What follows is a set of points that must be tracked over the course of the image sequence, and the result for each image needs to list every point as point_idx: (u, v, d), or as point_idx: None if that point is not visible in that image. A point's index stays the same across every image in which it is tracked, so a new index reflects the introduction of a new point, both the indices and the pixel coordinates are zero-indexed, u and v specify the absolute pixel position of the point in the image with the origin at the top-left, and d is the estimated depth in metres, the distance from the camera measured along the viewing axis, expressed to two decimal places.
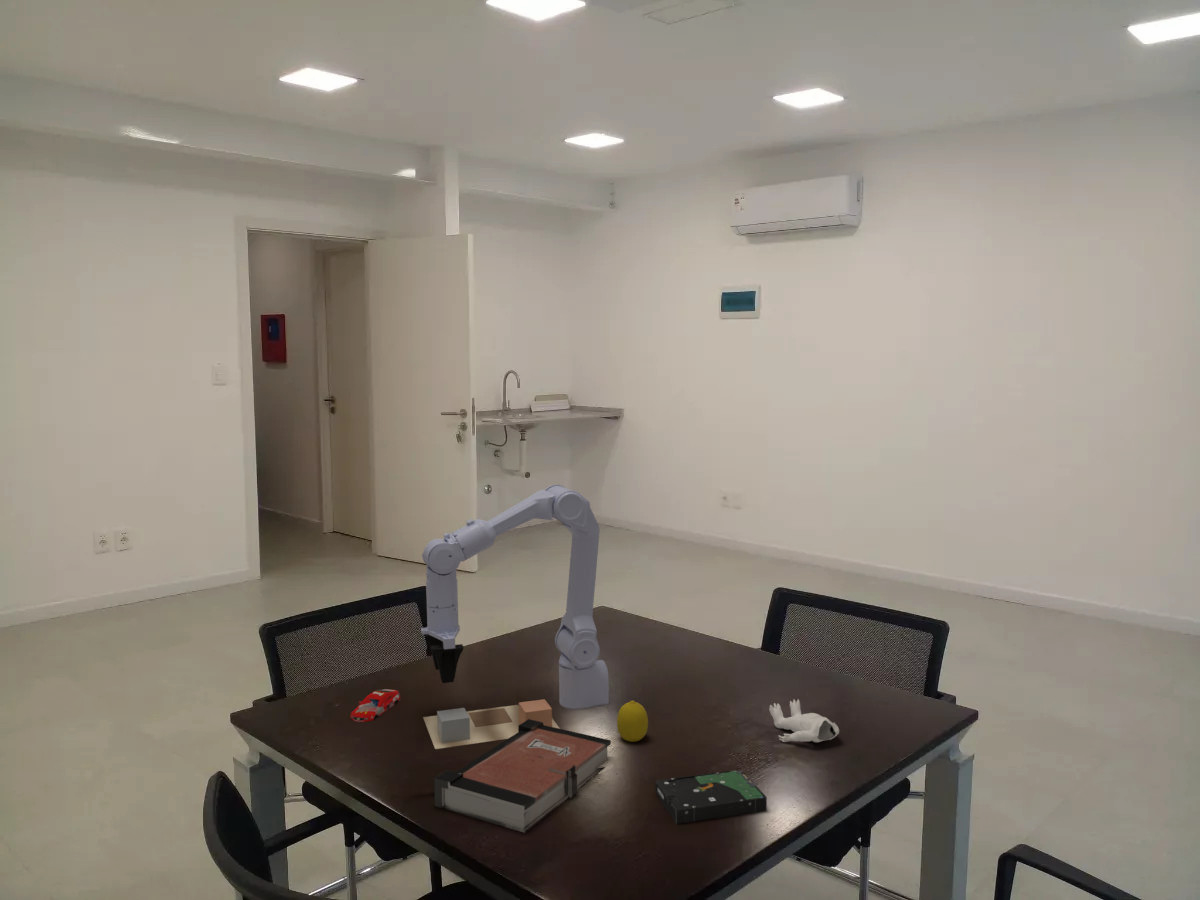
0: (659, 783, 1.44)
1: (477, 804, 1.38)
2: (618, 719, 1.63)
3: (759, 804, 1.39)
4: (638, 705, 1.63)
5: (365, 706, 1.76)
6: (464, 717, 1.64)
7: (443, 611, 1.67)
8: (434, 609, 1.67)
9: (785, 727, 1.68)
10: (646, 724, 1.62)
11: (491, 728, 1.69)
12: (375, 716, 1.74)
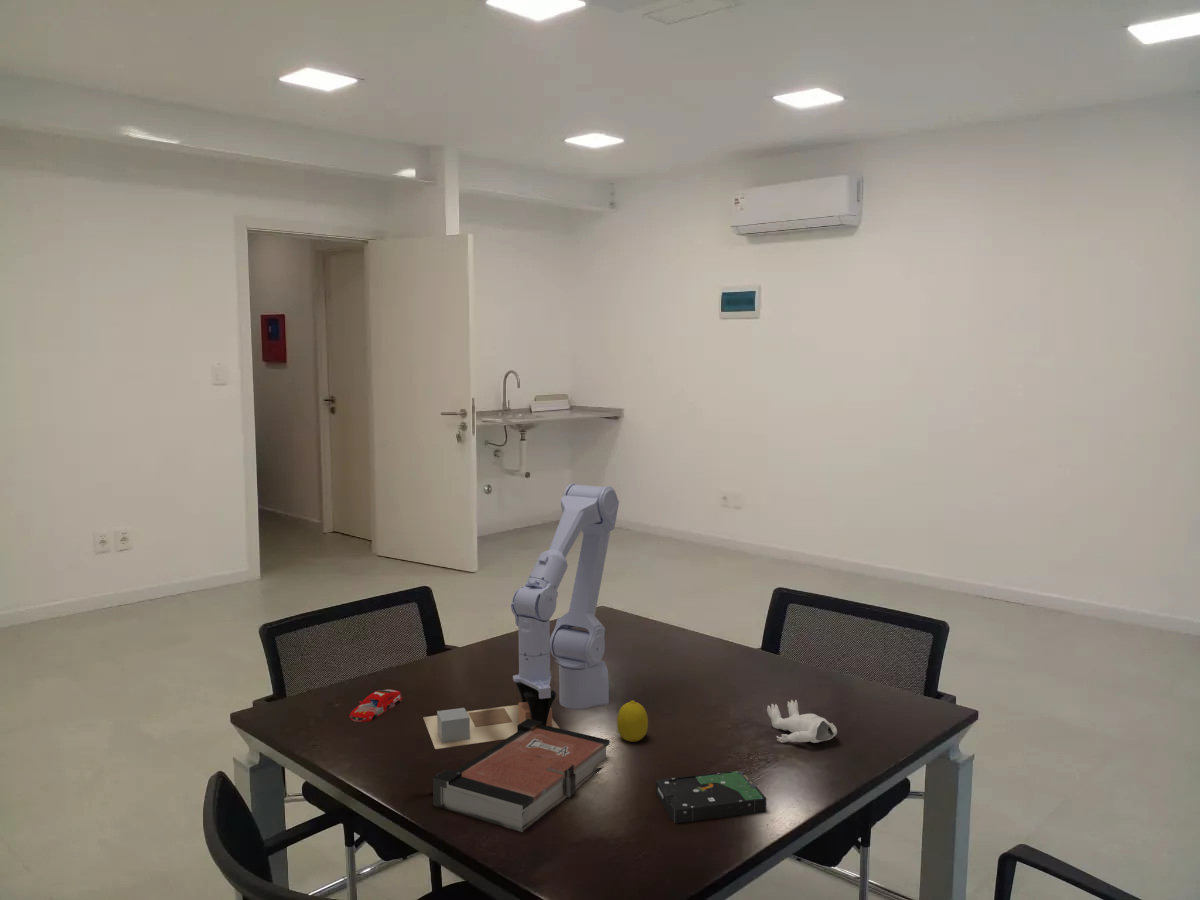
0: (660, 782, 1.45)
1: (475, 803, 1.38)
2: (618, 719, 1.63)
3: (758, 805, 1.39)
4: (638, 705, 1.63)
5: (365, 706, 1.76)
6: (464, 717, 1.64)
7: (537, 659, 1.65)
8: (527, 657, 1.65)
9: (783, 728, 1.68)
10: (646, 724, 1.62)
11: (491, 728, 1.69)
12: (374, 716, 1.74)
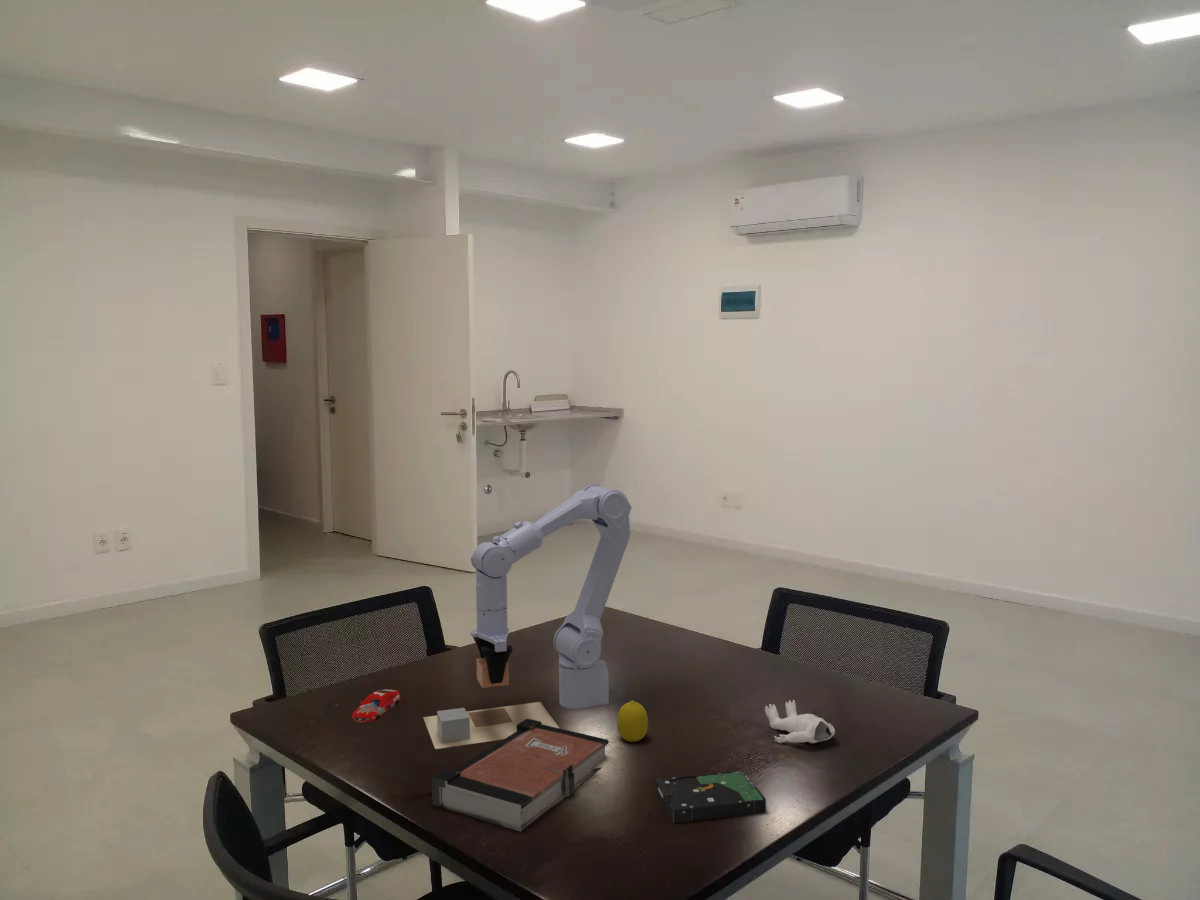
0: (660, 782, 1.45)
1: (474, 803, 1.38)
2: (618, 719, 1.63)
3: (758, 806, 1.39)
4: (638, 705, 1.63)
5: (366, 706, 1.75)
6: (464, 717, 1.64)
7: (493, 614, 1.68)
8: (485, 612, 1.68)
9: (781, 728, 1.68)
10: (646, 724, 1.62)
11: (491, 728, 1.69)
12: (377, 716, 1.74)
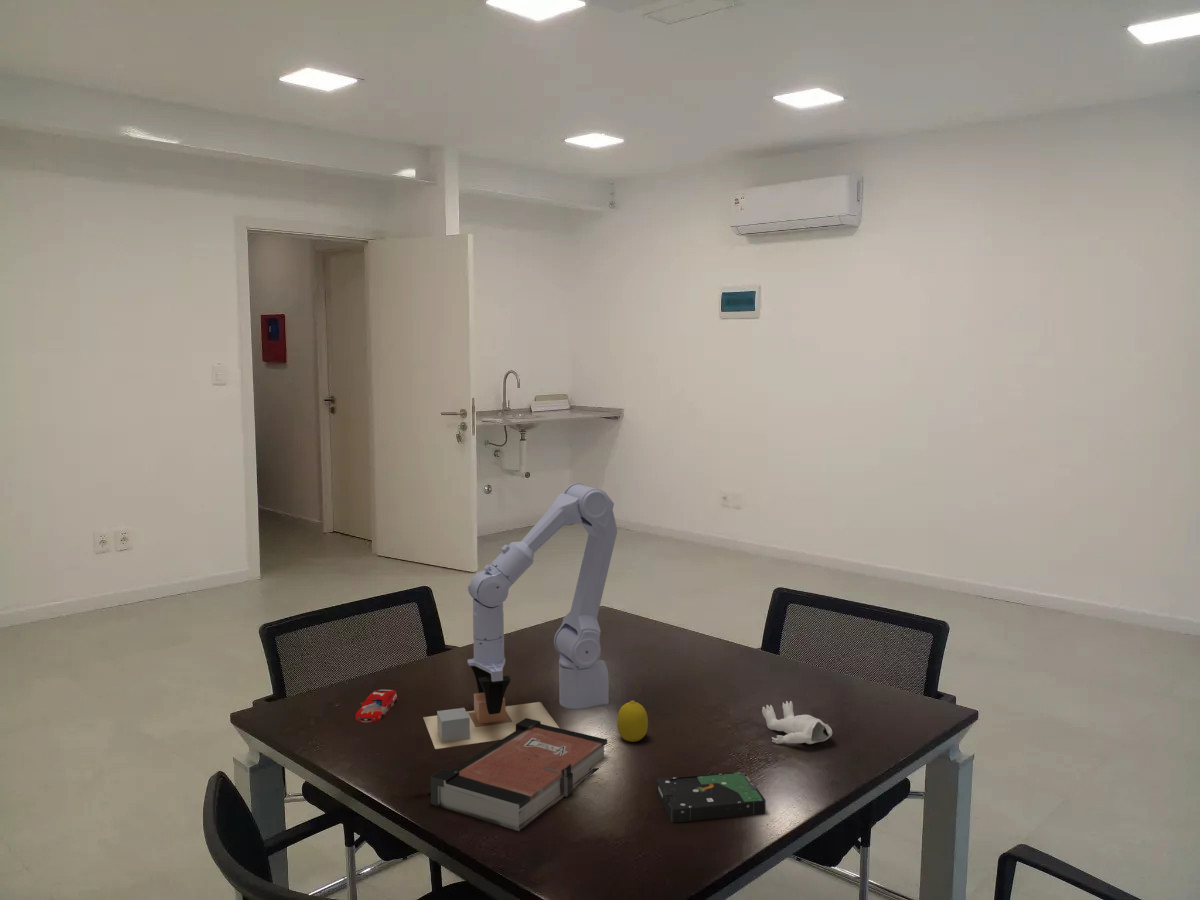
0: (660, 781, 1.45)
1: (472, 802, 1.39)
2: (618, 719, 1.63)
3: (757, 807, 1.38)
4: (638, 705, 1.63)
5: (369, 707, 1.75)
6: (464, 717, 1.64)
7: (490, 643, 1.69)
8: (481, 641, 1.69)
9: (778, 729, 1.68)
10: (646, 724, 1.62)
11: (491, 728, 1.69)
12: (381, 716, 1.74)
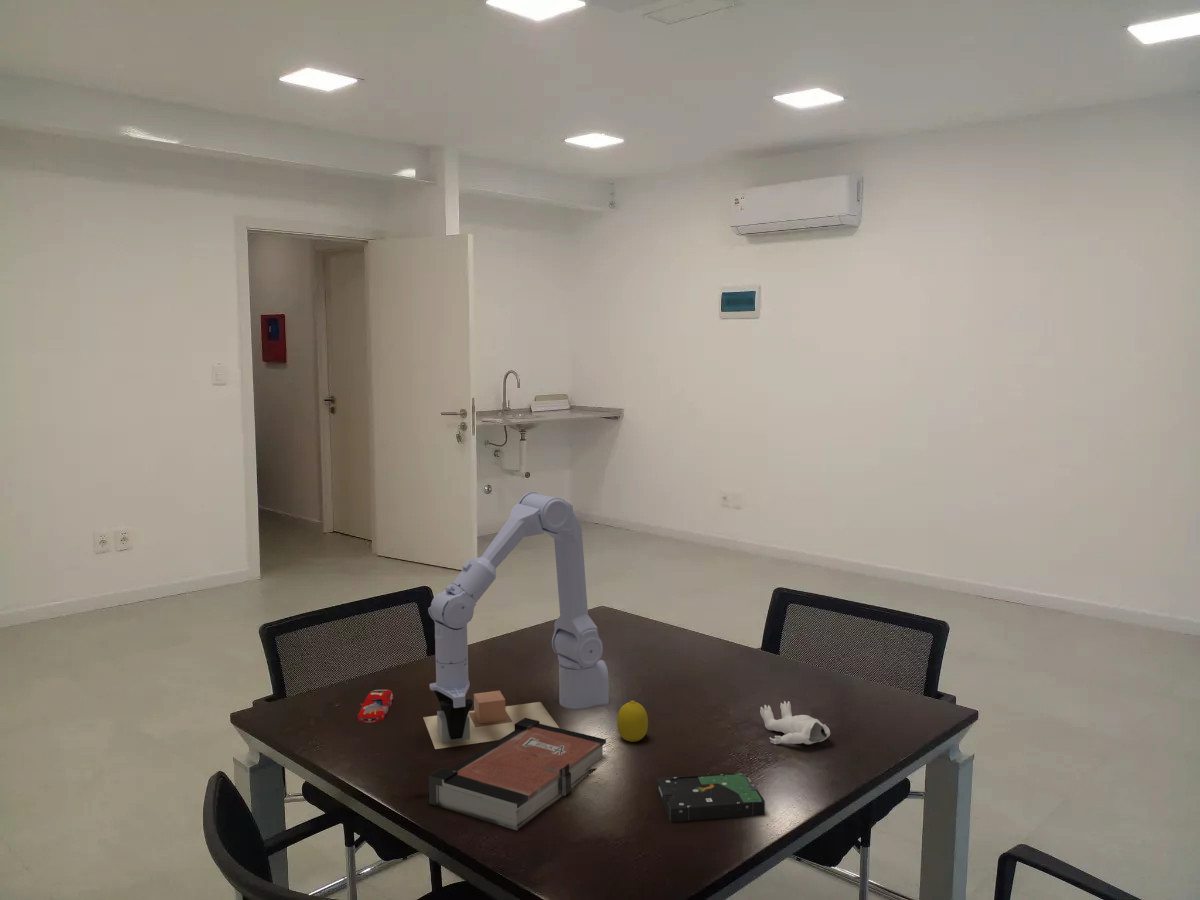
0: (661, 781, 1.45)
1: (470, 802, 1.39)
2: (618, 719, 1.63)
3: (756, 808, 1.38)
4: (638, 705, 1.63)
5: (370, 707, 1.75)
6: None
7: (453, 667, 1.61)
8: (443, 665, 1.61)
9: (776, 729, 1.67)
10: (646, 724, 1.62)
11: (491, 728, 1.69)
12: (384, 715, 1.74)
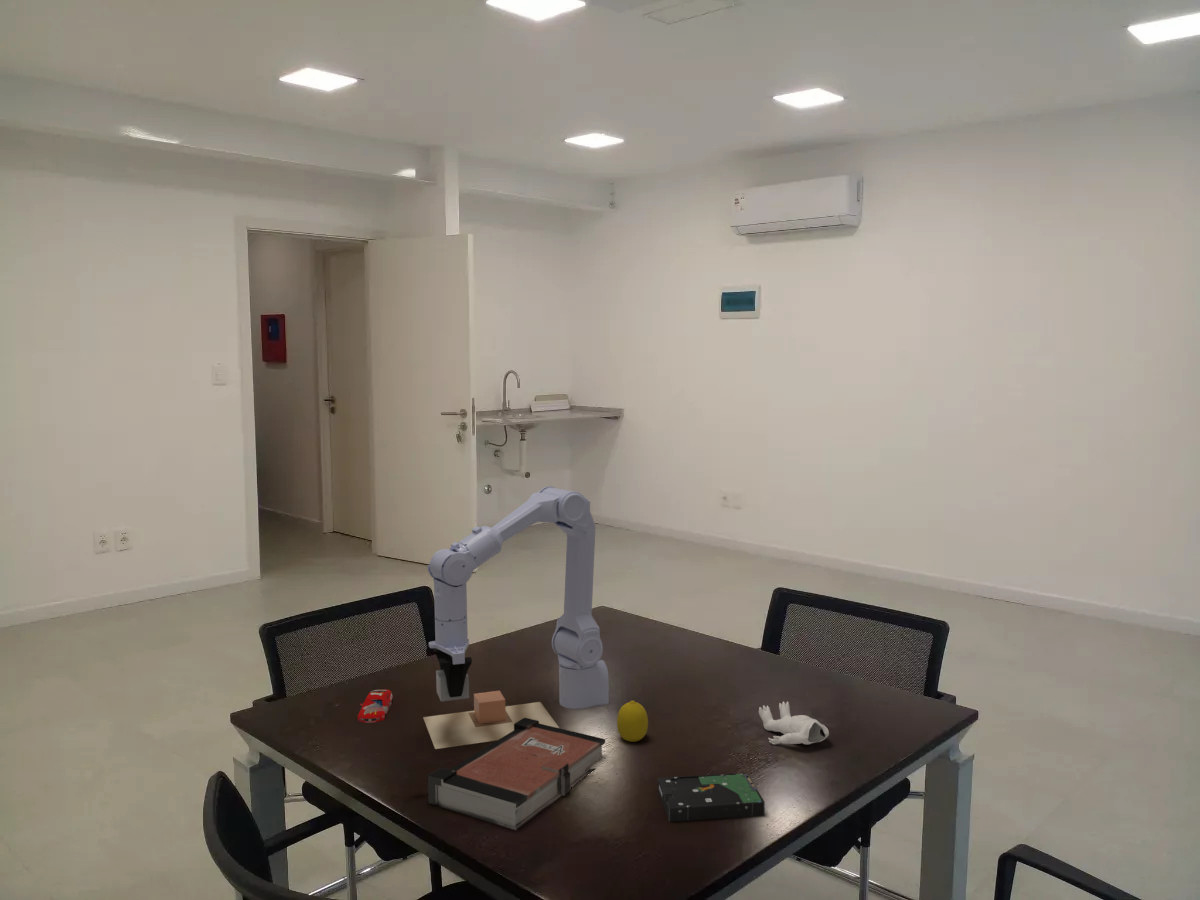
0: (661, 780, 1.45)
1: (469, 801, 1.39)
2: (618, 719, 1.63)
3: (756, 808, 1.38)
4: (638, 705, 1.63)
5: (370, 707, 1.75)
6: None
7: (452, 624, 1.61)
8: (443, 622, 1.61)
9: (775, 729, 1.67)
10: (646, 724, 1.62)
11: (491, 728, 1.69)
12: (384, 715, 1.74)
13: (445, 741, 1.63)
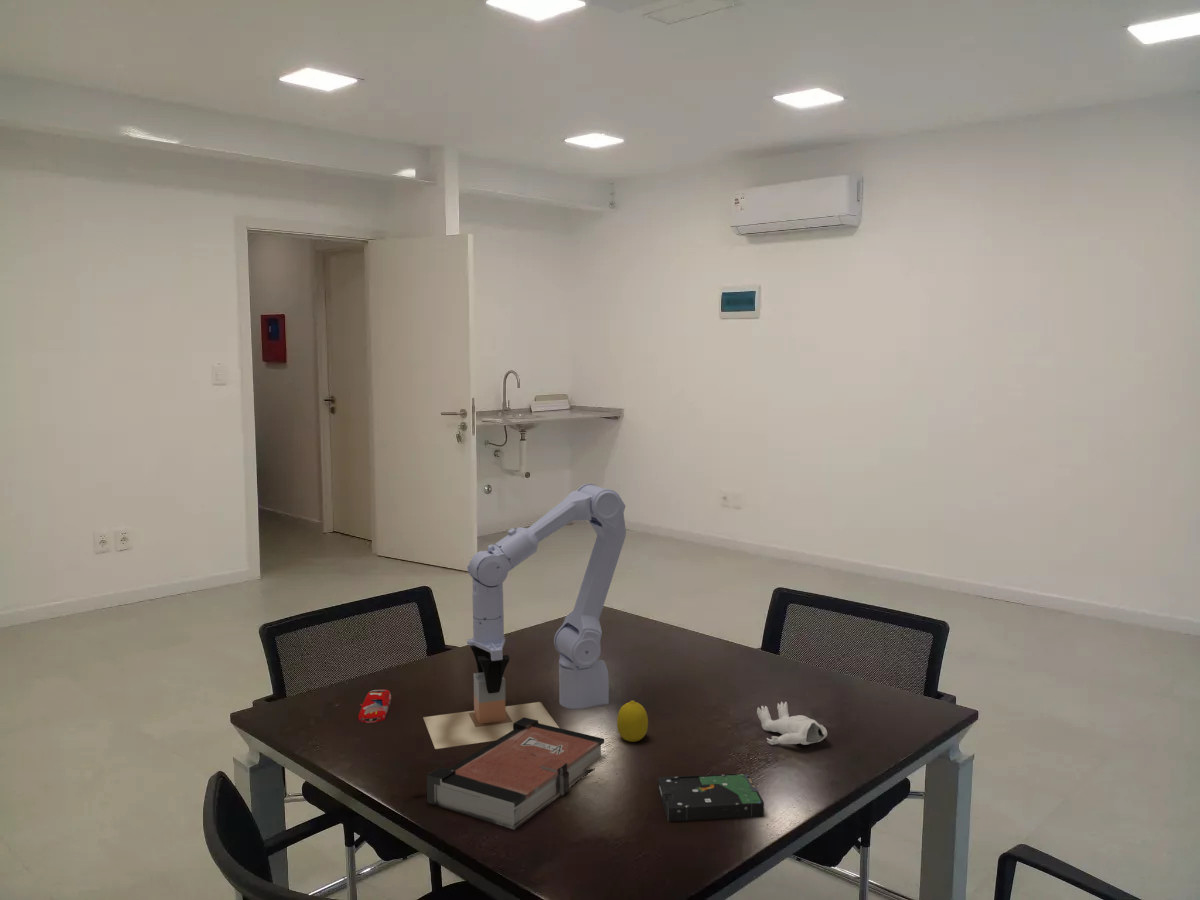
0: (662, 780, 1.45)
1: (468, 801, 1.39)
2: (618, 719, 1.63)
3: (755, 809, 1.38)
4: (638, 705, 1.63)
5: (370, 707, 1.75)
6: None
7: (490, 623, 1.69)
8: (481, 621, 1.69)
9: (773, 730, 1.67)
10: (646, 724, 1.62)
11: (491, 728, 1.69)
12: (385, 715, 1.74)
13: (445, 741, 1.63)
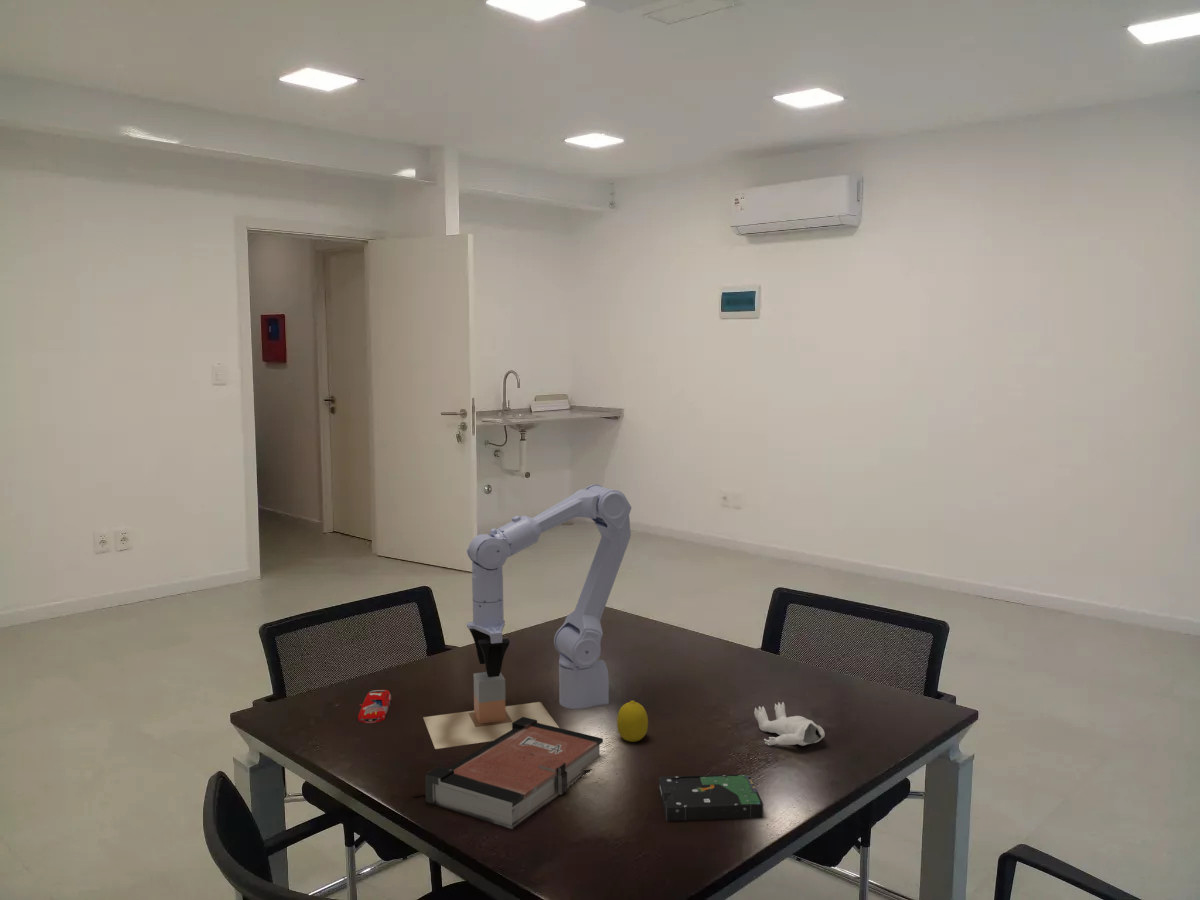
0: (662, 779, 1.46)
1: (466, 800, 1.39)
2: (618, 719, 1.63)
3: (754, 810, 1.37)
4: (638, 705, 1.63)
5: (370, 707, 1.75)
6: (500, 678, 1.71)
7: (489, 606, 1.69)
8: (480, 604, 1.69)
9: (770, 730, 1.67)
10: (646, 724, 1.62)
11: (491, 728, 1.69)
12: (385, 715, 1.74)
13: (445, 741, 1.63)
